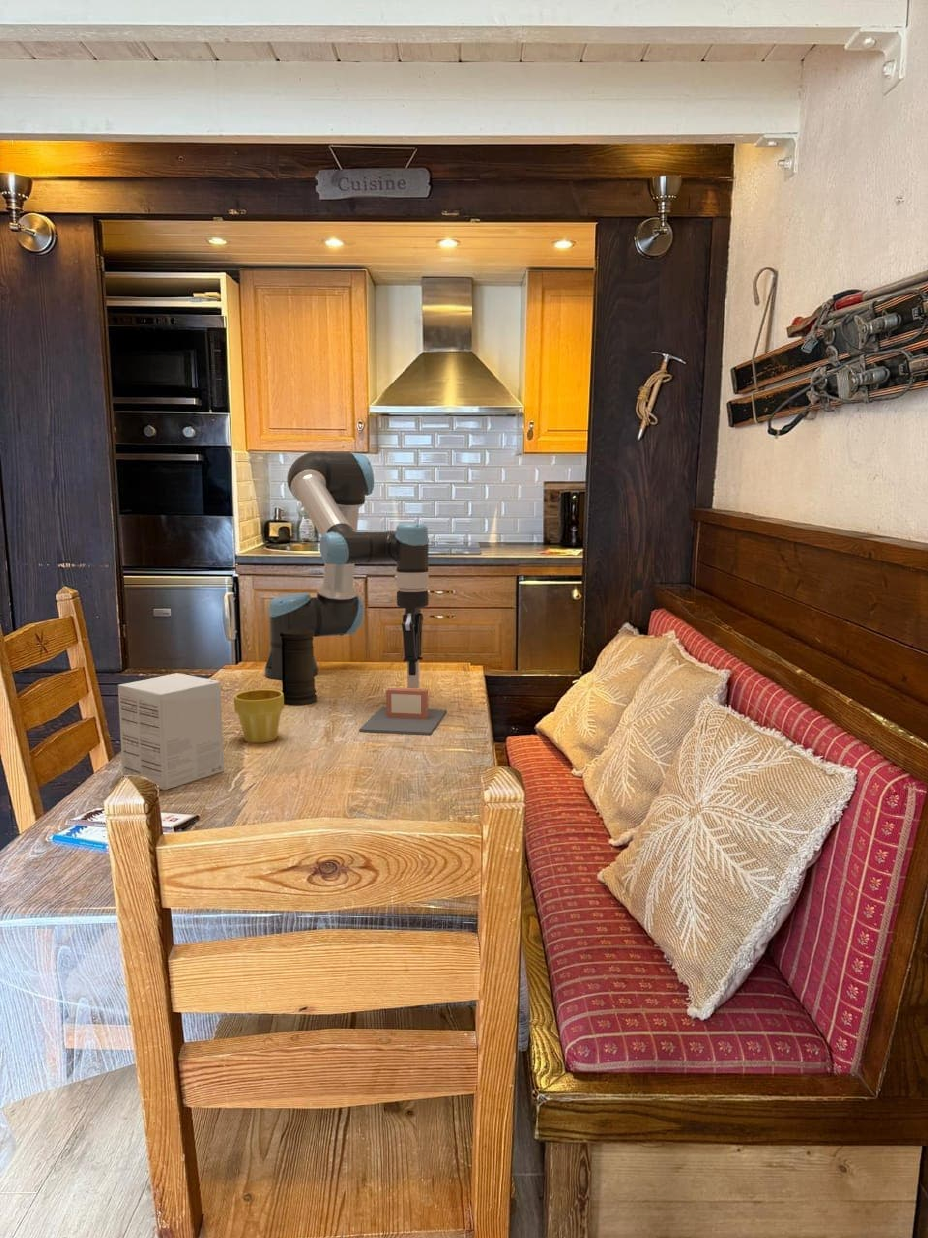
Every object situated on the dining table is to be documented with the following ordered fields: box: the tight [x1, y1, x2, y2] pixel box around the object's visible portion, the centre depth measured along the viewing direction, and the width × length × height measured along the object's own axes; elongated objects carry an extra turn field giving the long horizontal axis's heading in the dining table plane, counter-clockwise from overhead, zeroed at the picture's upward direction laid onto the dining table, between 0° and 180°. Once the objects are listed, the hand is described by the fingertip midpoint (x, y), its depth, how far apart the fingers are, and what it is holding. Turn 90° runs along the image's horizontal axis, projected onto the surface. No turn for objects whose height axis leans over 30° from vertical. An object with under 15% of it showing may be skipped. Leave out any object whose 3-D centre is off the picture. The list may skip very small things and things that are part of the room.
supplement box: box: [117, 672, 225, 791], centre depth 154 cm, size 13×13×18 cm
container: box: [280, 629, 318, 706], centre depth 210 cm, size 9×9×18 cm
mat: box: [359, 706, 448, 736], centre depth 193 cm, size 20×16×1 cm
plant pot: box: [233, 688, 285, 744], centre depth 178 cm, size 10×10×10 cm
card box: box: [385, 687, 429, 719], centre depth 194 cm, size 2×10×6 cm, turn 81°
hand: (413, 687), depth 200 cm, fingers closed
